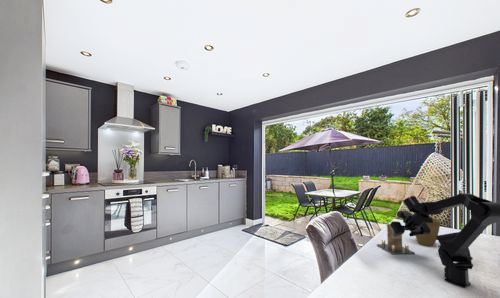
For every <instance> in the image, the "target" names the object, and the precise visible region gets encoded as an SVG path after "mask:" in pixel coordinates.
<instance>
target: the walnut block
mask: <svg viewBox="0 0 500 298" xmlns="http://www.w3.org/2000/svg"><path fill="white" fill-rule="evenodd" d="M386 228H387V229H386V232H387V244H388V247H389V248H391V249H392V245H395V250H402V247H403V234H402V235H399V236H394V235H393V234H394V230H393V229H392V227H391V225H390V223H387V224H386Z"/></svg>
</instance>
